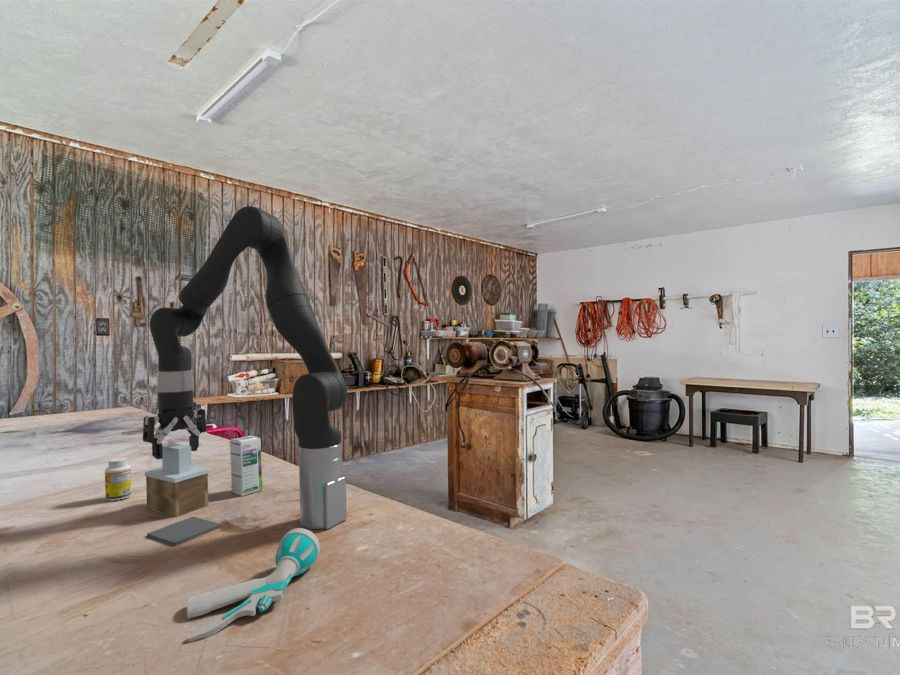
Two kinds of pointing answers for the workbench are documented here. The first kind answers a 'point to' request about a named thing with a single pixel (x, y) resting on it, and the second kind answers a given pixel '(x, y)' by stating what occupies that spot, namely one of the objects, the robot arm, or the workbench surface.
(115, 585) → the workbench surface
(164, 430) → the robot arm
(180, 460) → the lid
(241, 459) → the syrup box
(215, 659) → the workbench surface
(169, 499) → the crate
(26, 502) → the workbench surface
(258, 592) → the garden hose nozzle
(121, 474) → the supplement bottle
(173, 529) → the mat
